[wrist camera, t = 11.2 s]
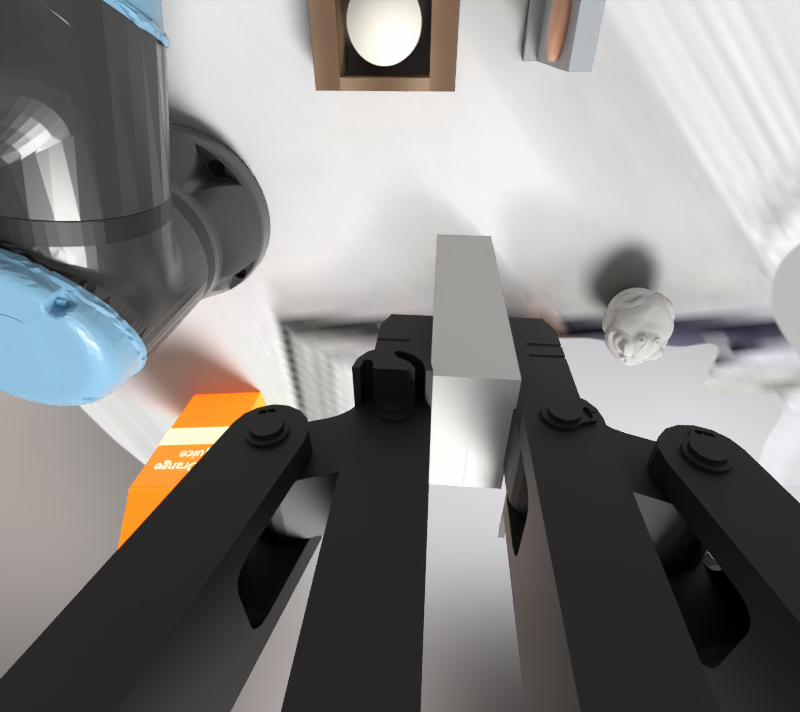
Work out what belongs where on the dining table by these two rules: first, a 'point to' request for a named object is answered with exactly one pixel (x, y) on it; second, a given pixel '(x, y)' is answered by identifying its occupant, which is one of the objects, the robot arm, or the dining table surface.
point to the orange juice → (183, 451)
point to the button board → (352, 72)
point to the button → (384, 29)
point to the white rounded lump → (638, 325)
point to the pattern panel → (563, 33)
